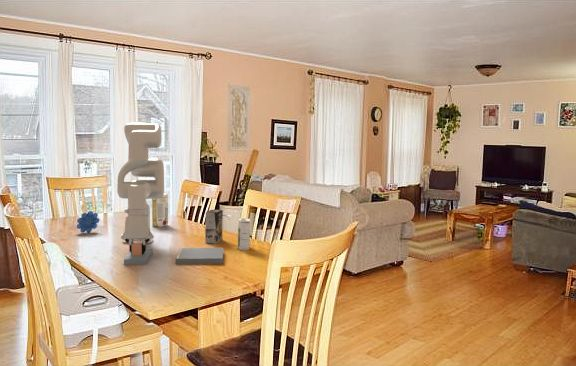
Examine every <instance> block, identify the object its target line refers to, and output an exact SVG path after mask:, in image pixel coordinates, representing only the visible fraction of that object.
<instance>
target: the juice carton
mask: <svg viewBox="0 0 576 366" xmlns="http://www.w3.org/2000/svg"><path fill="white" fill-rule="evenodd" d="M168 194H169V193H164V196H163V197H162V198H158V199H151V226H152V227H155V228H156V227H157V228H161V227H166V226H169V195H168Z"/></svg>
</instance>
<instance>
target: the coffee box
mask: <svg viewBox="0 0 576 366" xmlns="http://www.w3.org/2000/svg"><path fill="white" fill-rule="evenodd" d="M223 211H224V209H210V210H208V211H206V212H205V232H204V233H205V237H204V238H205V241H204V242H205V244H218V243H219V242H221V241H223V213H224V212H223Z"/></svg>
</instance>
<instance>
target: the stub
mask: <svg viewBox="0 0 576 366" xmlns="http://www.w3.org/2000/svg"><path fill="white" fill-rule="evenodd" d="M153 253H154V248H153V247H152V248H147V247H146V252H144V254H142V241H134V242H133V243H132V254H131V252H130V251H129V252H128V254H127V255H126V256H125V257H124V259H123V265H124V266H130V265H131V266H132V265H133V266H134V265H135V266H137V265H139V266H140V265H141V266H142V265H144V266H145V265H147V263H148V262H149V261H150V258H151V257H152V256H153Z"/></svg>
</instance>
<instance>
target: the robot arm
mask: <svg viewBox="0 0 576 366" xmlns="http://www.w3.org/2000/svg"><path fill="white" fill-rule="evenodd" d="M123 130H124V136H125V139H126V141H127V144H128V154H127V155H128V158H127V159H128V160H127V162H126V163H124V165H122V166H121V168H120V170H119V172H118V174H117V187H116V188H117V189H116V190H117V191H116V192H117V195H118V197H119V198H121V199H123V200H124V199H127V209H124V214H127V215H126V216H125V220H124V221H125V222H124V232H123V233H122V234H121V237H120V239H122V240H123V241H124V242H125V243H127V244H128V246H129V249H128V250H129V252H131V254H132V243H133V242H134V241H142V254H144V252H146V248H147V244H151V243H153V242H154V238H155V236H154V234H153V233H152V231H151V207H150V205H149V204H148V202H147V199H149V200H152V199H158V198H162V197H163V196H164V194H165V166H164V162H163V160H162V159H160V158H157V157H156V158H152V157H151V158H150V157H149V149H159V148H160V146H161V144H162V127H161V124H159V123H154V122H153V123H151V122H130V123H126V124H125V125H124V128H123ZM129 173H131V175H132V176H133V177H135V178H153V179H135V180H132V181H125V178H126V176H127V175H128V174H129Z"/></svg>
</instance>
